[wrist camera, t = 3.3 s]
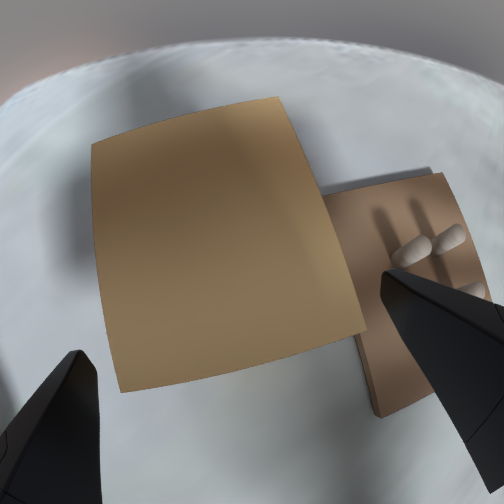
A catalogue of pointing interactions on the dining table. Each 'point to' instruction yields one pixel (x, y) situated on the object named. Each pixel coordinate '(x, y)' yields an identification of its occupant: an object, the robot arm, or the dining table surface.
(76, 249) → the dining table surface
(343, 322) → the oak block
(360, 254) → the peg base
